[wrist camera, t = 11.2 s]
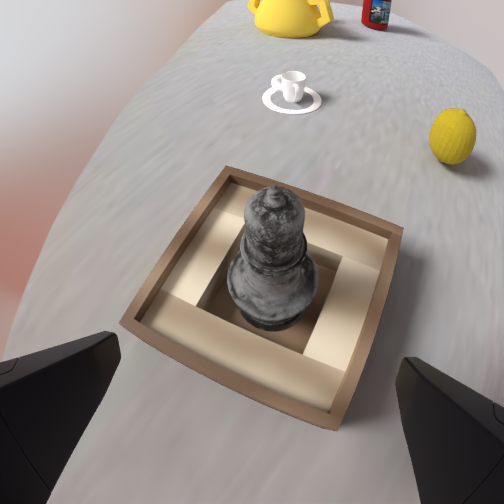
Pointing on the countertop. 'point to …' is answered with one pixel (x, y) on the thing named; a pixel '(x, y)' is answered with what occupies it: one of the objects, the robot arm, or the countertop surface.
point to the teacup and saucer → (291, 92)
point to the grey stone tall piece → (273, 262)
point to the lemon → (452, 136)
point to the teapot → (291, 16)
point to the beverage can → (376, 13)
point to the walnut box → (270, 342)
